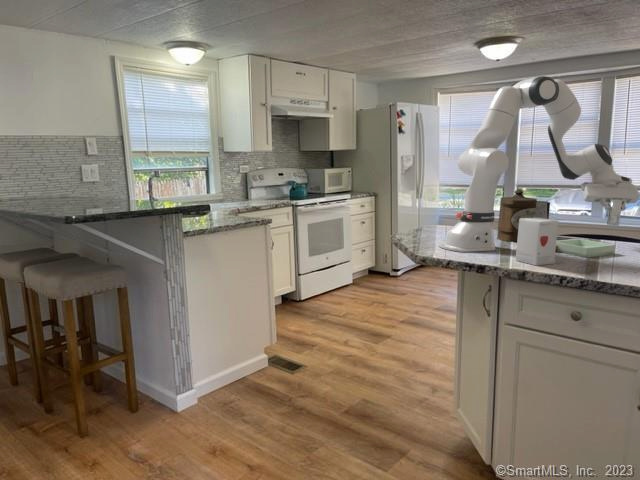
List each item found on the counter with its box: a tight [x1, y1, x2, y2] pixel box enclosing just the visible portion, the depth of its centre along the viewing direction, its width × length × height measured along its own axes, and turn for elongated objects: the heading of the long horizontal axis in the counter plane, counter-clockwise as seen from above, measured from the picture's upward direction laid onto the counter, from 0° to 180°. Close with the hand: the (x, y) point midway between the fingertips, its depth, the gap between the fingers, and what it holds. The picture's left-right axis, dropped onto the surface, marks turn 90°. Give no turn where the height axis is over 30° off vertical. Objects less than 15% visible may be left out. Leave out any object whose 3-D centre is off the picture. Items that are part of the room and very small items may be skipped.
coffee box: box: [536, 200, 551, 219], centre depth 213 cm, size 9×6×16 cm
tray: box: [556, 238, 616, 258], centre depth 179 cm, size 16×15×4 cm
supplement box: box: [515, 218, 559, 266], centre depth 160 cm, size 9×9×15 cm
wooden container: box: [497, 188, 538, 243], centre depth 204 cm, size 15×15×22 cm
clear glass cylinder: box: [606, 199, 622, 226], centre depth 185 cm, size 4×4×10 cm
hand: (615, 209), depth 184 cm, fingers closed on clear glass cylinder, 4 cm apart
